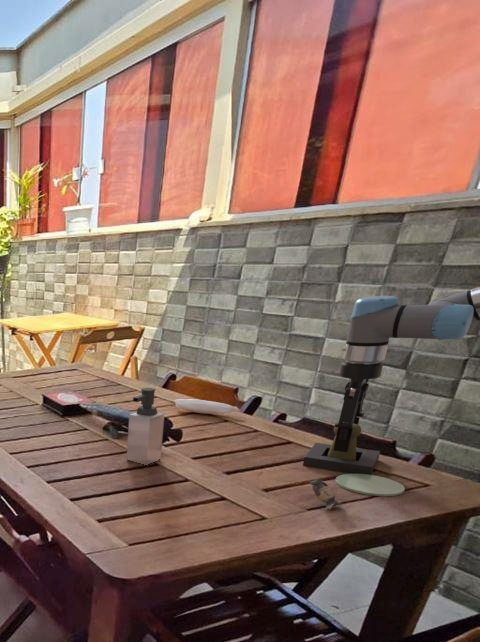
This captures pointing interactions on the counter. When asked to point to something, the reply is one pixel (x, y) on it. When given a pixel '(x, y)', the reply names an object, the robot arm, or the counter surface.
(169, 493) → the counter surface
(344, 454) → the cork
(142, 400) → the soap dispenser
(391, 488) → the coaster
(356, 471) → the frame
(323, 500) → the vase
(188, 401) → the white tapered cylinder
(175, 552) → the counter surface
